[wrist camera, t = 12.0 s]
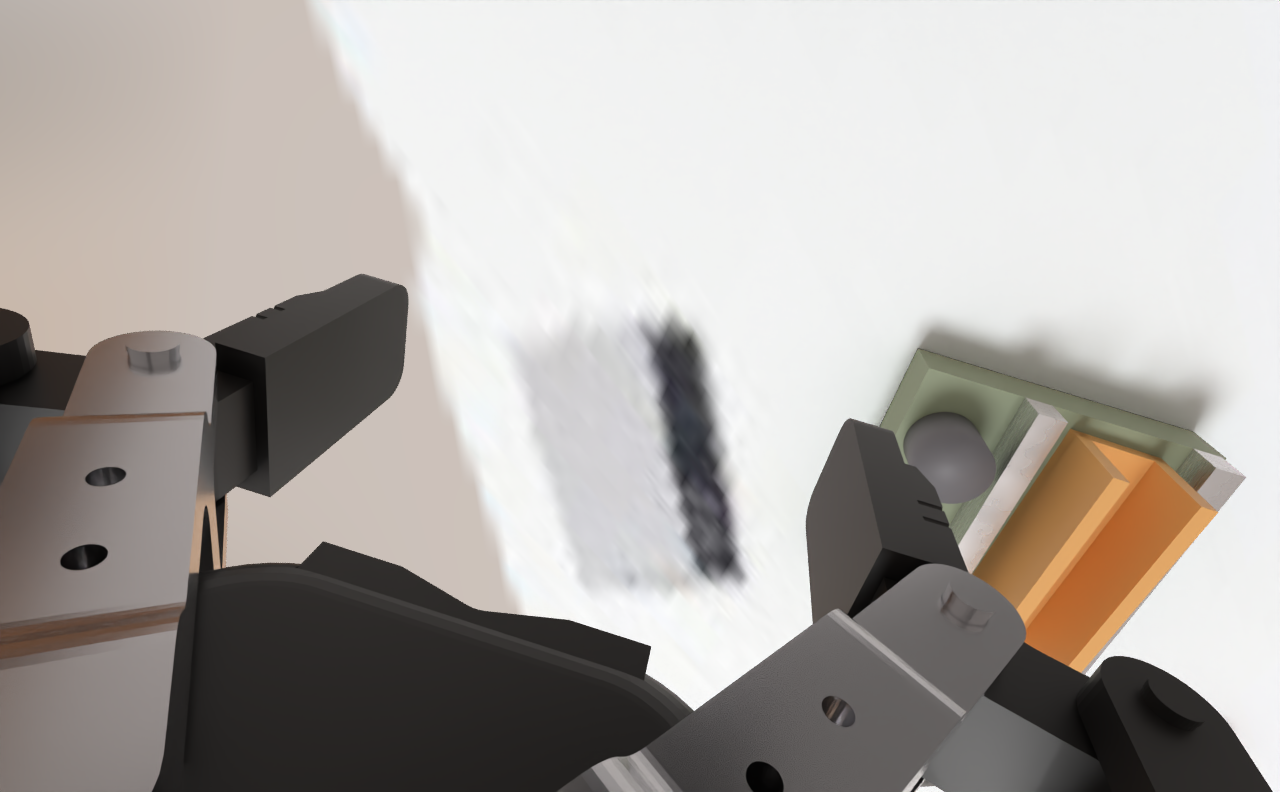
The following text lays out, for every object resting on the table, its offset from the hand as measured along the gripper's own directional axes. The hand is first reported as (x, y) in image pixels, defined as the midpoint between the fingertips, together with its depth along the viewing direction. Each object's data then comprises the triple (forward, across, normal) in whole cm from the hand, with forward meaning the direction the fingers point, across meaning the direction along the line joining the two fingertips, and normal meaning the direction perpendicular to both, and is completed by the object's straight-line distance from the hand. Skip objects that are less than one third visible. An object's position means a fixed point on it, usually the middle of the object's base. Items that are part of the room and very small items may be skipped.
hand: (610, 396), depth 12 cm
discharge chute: (+24, -24, +14) cm, 37 cm away
